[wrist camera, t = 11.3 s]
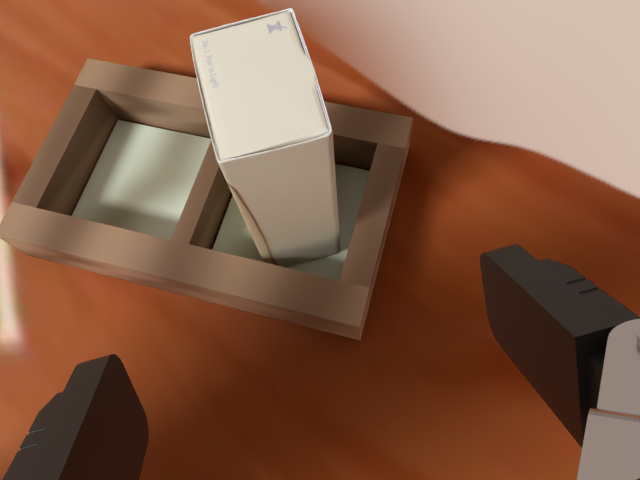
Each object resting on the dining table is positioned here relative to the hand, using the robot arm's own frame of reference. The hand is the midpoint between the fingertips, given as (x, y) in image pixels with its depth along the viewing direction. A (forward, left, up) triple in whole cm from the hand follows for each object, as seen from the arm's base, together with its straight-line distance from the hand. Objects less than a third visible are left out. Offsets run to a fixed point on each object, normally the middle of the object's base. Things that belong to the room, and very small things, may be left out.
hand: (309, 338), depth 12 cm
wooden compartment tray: (-10, +10, -17) cm, 22 cm away
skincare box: (-5, +10, -17) cm, 20 cm away
